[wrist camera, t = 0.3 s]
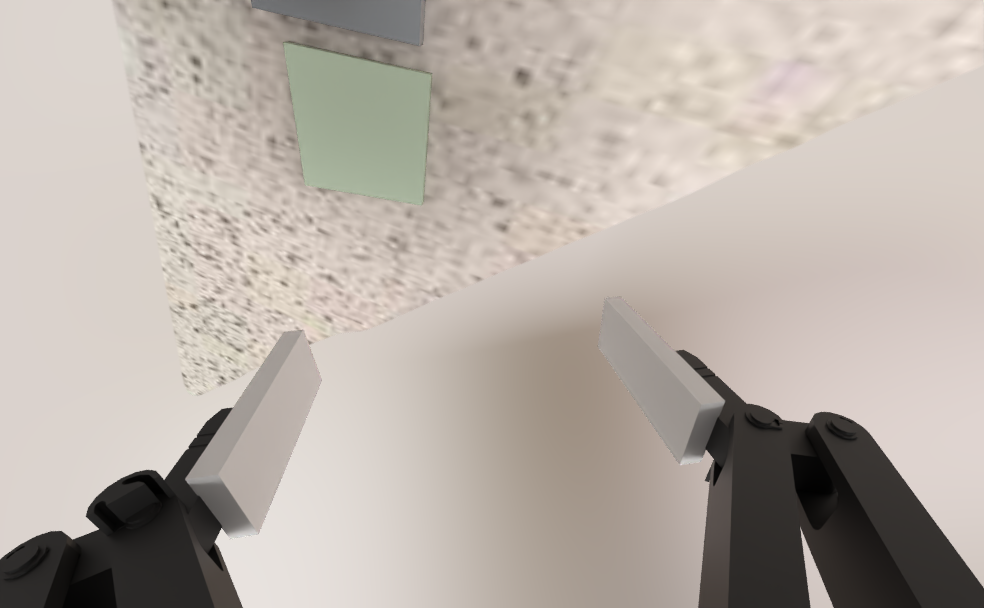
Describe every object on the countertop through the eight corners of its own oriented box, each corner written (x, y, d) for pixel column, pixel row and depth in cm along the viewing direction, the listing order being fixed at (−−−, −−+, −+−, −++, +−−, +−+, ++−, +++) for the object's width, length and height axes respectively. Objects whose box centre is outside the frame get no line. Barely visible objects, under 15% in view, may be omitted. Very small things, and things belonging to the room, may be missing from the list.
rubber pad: (288, 41, 29) (283, 42, 28) (432, 73, 31) (430, 74, 30) (308, 181, 37) (305, 185, 36) (423, 201, 38) (422, 205, 37)
